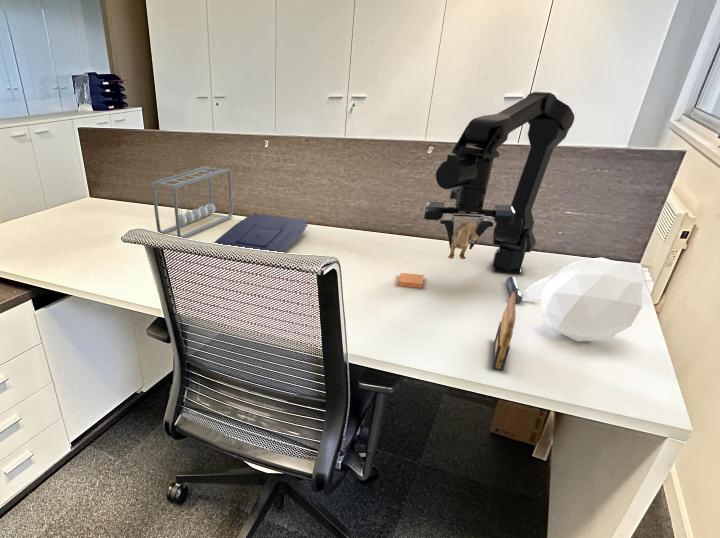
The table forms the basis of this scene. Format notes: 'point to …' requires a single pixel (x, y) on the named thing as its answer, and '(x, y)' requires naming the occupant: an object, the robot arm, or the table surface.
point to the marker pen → (513, 289)
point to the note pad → (411, 280)
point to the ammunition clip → (504, 335)
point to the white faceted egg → (589, 299)
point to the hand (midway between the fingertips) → (460, 248)
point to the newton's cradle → (195, 213)
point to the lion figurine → (462, 239)
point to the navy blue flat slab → (264, 232)
